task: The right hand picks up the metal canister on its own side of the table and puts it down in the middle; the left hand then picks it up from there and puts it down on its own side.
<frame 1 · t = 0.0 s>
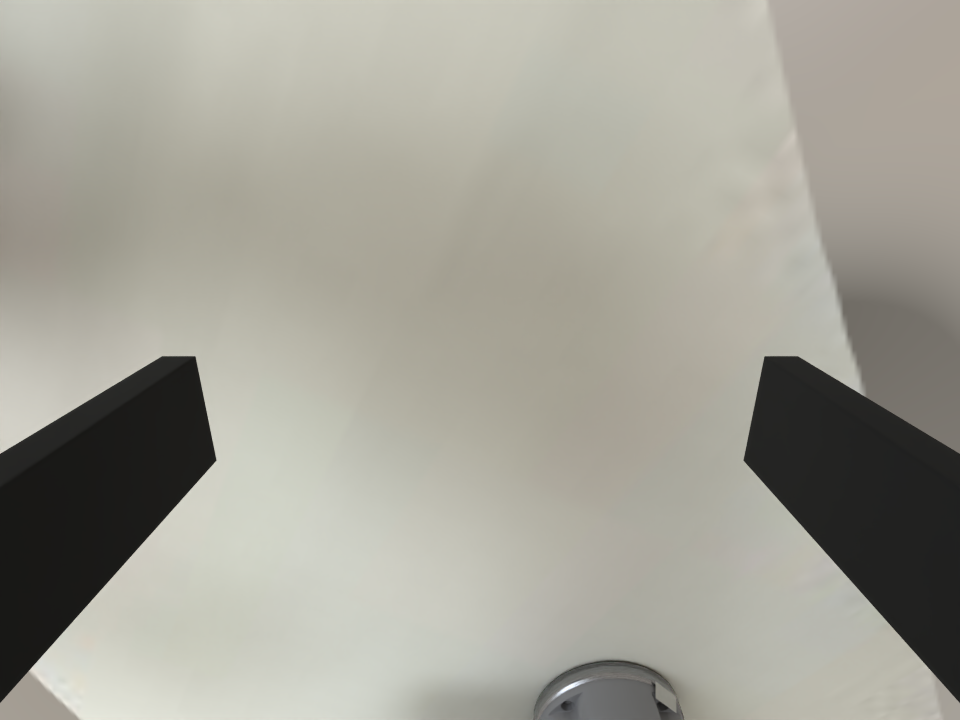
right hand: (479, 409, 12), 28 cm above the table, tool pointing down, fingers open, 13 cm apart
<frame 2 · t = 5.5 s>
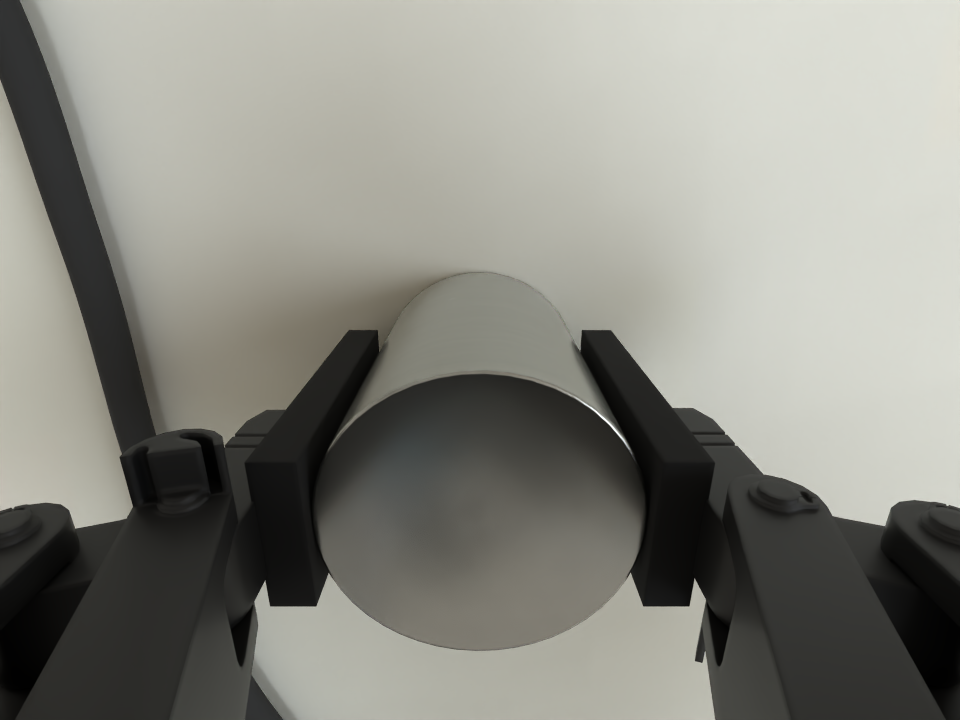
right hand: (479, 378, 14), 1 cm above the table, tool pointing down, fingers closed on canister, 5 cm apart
canister: (479, 364, 15), on the table, touching right hand
when the right hand's fingers open (3 cm above the table, at t = 11.6 s): canister drops 1 cm, on the table.
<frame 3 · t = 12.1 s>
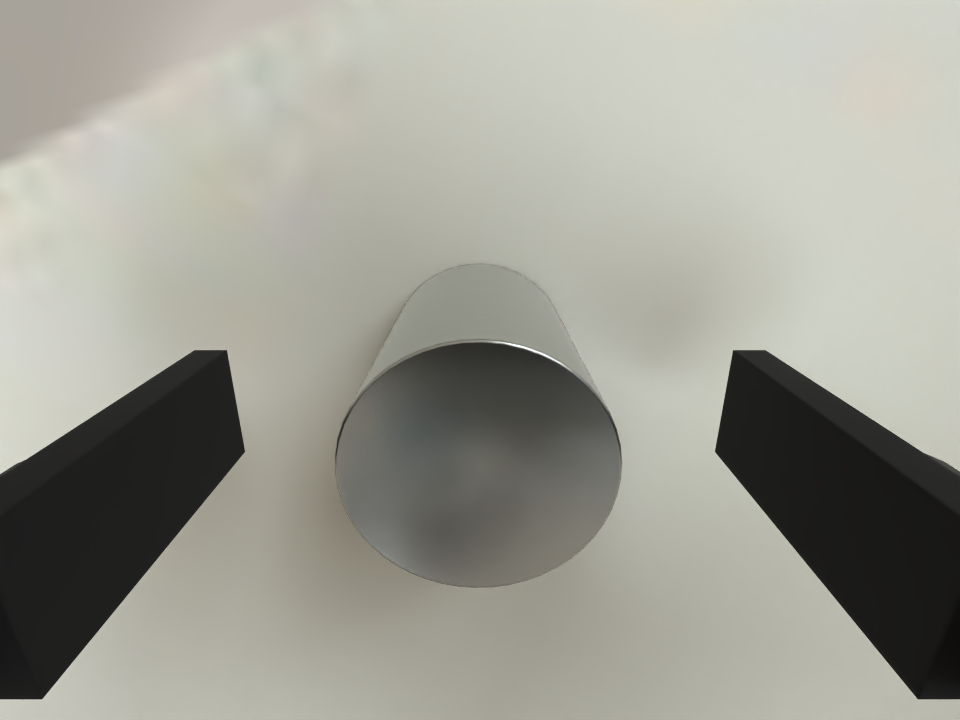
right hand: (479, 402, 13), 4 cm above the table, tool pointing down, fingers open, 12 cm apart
canister: (479, 348, 17), on the table
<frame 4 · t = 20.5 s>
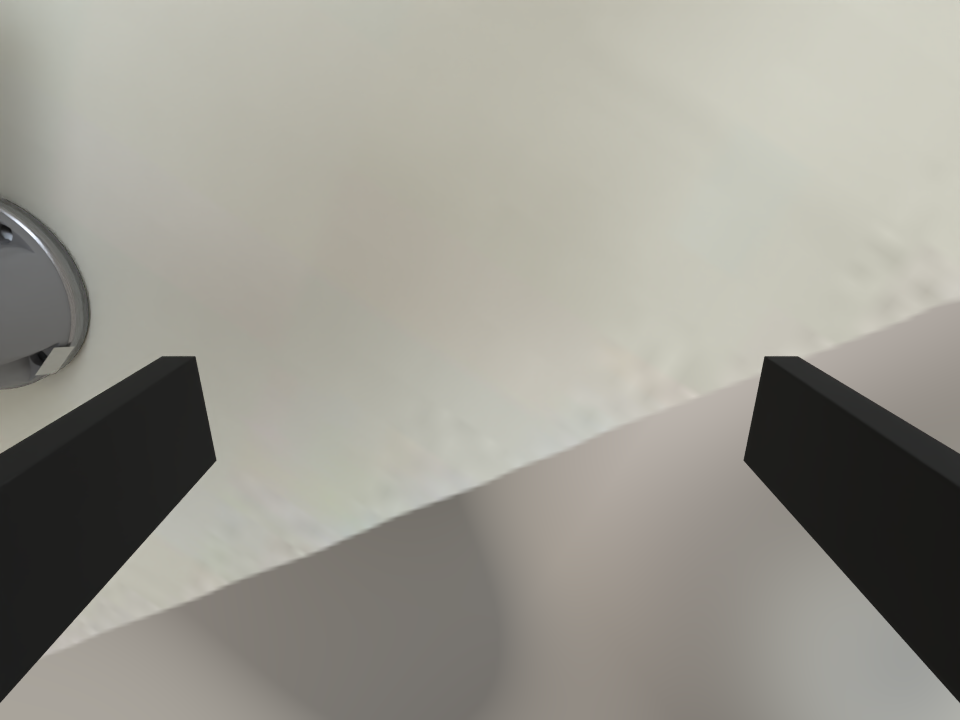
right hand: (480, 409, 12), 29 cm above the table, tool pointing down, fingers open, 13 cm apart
when the left hand's fingers open (3 cm above the table, at t = 32.1 s): canister drops 1 cm, on the table.
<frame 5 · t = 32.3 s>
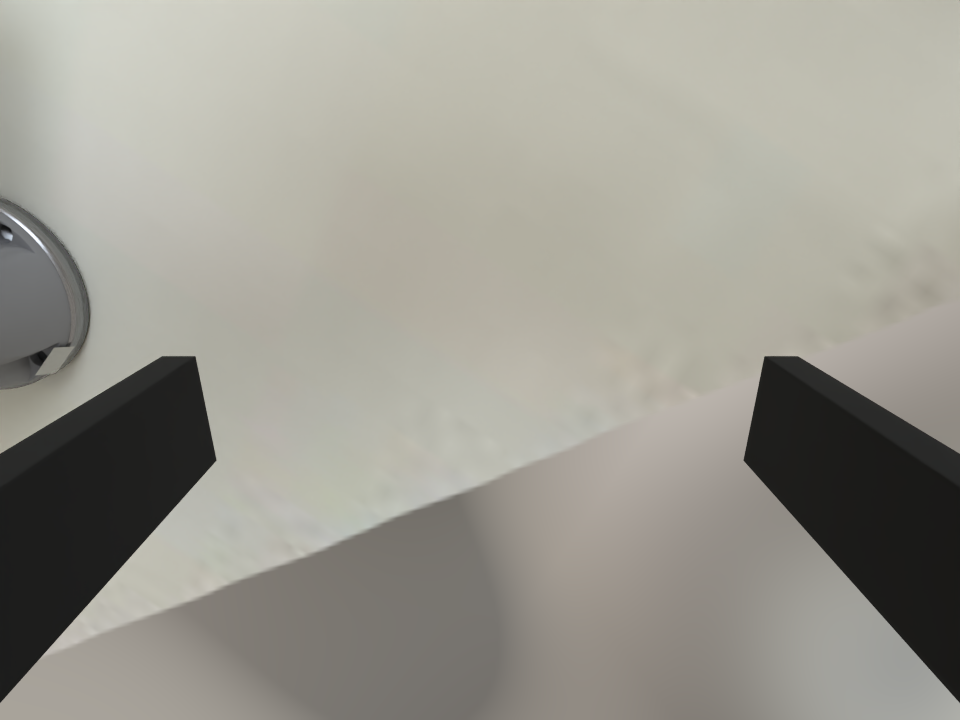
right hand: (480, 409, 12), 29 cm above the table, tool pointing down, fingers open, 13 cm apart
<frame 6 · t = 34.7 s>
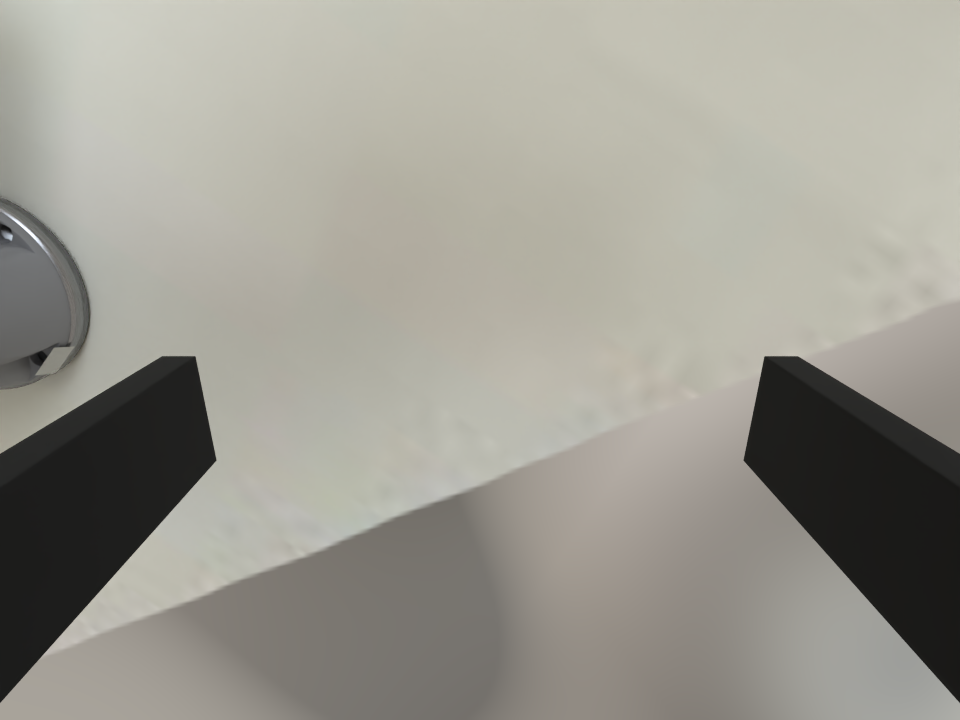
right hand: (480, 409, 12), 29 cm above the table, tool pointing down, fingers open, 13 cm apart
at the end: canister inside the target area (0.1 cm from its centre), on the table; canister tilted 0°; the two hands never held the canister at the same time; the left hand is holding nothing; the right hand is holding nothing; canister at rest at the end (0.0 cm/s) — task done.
